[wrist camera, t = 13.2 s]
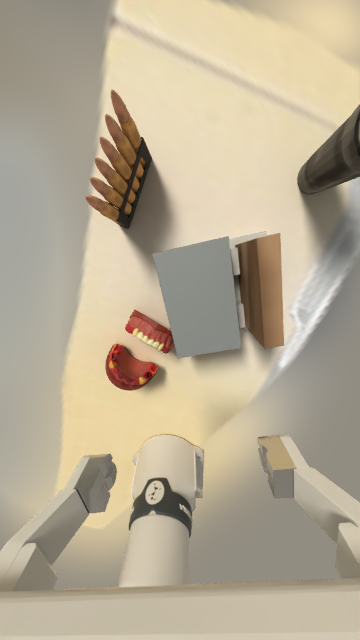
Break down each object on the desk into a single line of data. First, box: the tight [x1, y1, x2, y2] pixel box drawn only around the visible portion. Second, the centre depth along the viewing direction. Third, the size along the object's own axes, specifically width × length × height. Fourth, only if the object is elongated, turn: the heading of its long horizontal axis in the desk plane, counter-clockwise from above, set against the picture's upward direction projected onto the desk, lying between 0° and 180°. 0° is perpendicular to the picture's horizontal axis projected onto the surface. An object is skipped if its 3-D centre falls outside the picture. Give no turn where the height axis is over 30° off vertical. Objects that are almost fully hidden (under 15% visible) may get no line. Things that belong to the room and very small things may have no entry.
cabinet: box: [153, 231, 266, 358], centre depth 29 cm, size 16×18×8 cm
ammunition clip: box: [86, 90, 152, 229], centre depth 23 cm, size 11×2×12 cm, turn 155°
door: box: [235, 233, 284, 348], centre depth 27 cm, size 4×14×10 cm, turn 12°
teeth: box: [106, 310, 174, 390], centre depth 33 cm, size 10×8×15 cm
